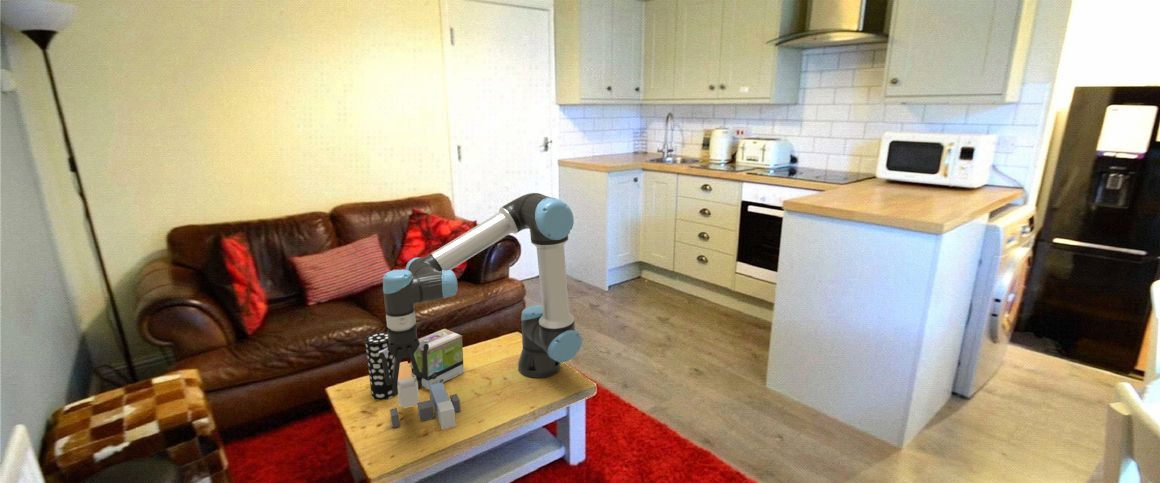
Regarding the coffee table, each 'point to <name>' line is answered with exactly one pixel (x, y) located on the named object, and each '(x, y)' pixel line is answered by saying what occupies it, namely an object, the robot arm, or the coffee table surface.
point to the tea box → (441, 357)
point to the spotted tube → (379, 366)
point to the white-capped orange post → (407, 386)
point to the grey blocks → (424, 410)
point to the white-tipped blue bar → (442, 406)
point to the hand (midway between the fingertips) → (408, 401)
